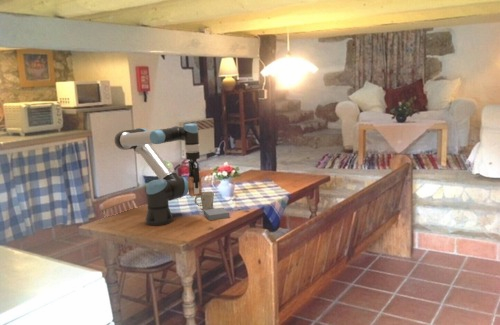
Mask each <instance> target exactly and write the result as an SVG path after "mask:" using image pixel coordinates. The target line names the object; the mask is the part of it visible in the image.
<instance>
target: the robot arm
mask: <svg viewBox="0 0 500 325" xmlns="http://www.w3.org/2000/svg"><path fill="white" fill-rule="evenodd" d="M199 136H200V135H199V124H197V123H194V122H193V123H185V124H184V125H183V126H178V125H177V126H171V127H168V128H161V129H155V130H154V129H152V130H148V129H146V128H144V127H143V128H142V127H141V128H140V127H139V128H134V129H128V130H126V129H125V130H122V131H119V132H118V133H116V135H115V136H114V145H115V146H116V147H117V149H120V150H123V151H127V150H128V151H129V150H133V151H134V152H135V153H136V154H138V155H139V154H140V156H141V157H142V158H143V160H144V161H145V162H146V164H148V166H149V167H150V169H151V171H153V173H154V174H155V176H156V177H157V179H154V180H151V181H149V182H148V183H147V184H146V187H145V188H146V189H145V192H146V202H147V212H146V216H145V224H146V225H148V226H164V225H169V224H170V223H173V221H174V219H173V218H174V216H173V214H172V211H171V209H170V207H169V201H174V200H177V199H180V198H183V197H185V196H186V195H188V194H189V187H188V178H186V177H184V176H179V175H178V173H177V172H174V171H172V170H171V168H170V167H169V165H167V163H166V162H165V160H164V159H163V158H162V157H161V156H160V154H159V153H158V151H157V150H156V149H155V148H154V147H153V145H161V144H166V143H171V142H177V141H184V146H185V147H184V148H185V152H186V153H185V159H187V160H188V162H187V163H188V173H189V176H188V177H193V178H194V182H193V183H194V194H199V182H200V180H199V177H200V172H199V171H200V169H199V167H200V165H199V163H198V162H197V160H199V159H201V155H200V154H201V153H200V147H201V145H200V140H199V139H200V137H199Z"/></svg>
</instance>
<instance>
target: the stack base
mask: <svg viewBox="0 0 500 325" xmlns="http://www.w3.org/2000/svg"><path fill="white" fill-rule="evenodd" d="M230 214H231V213H230V211H229V210H227V208H225V207H217V208H216V207H215V208H213V209H209V210H203V216H204V217H205V218H206V219H207V220H208V221H215V220H222V219H228V218H230Z"/></svg>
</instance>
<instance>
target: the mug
mask: <svg viewBox="0 0 500 325" xmlns="http://www.w3.org/2000/svg"><path fill="white" fill-rule="evenodd" d="M214 194H215V193H214V191H202V195H201V196H194V203H195V205H196V206H198V207H202V210H203V211H204V210H209V209H214V197H215V196H214ZM199 198H200V200H201V201H200V202H201V204H199V203H198V202H197V201H198V199H199Z"/></svg>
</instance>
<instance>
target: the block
mask: <svg viewBox="0 0 500 325" xmlns="http://www.w3.org/2000/svg"><path fill="white" fill-rule="evenodd" d="M199 180H200V182H199V194H194V183H193V182H194V178H193V177H189V176H188V177H187V181H188V187H189V190H188V195H189V196H190V197H196V196H201V195H202V192H203V191H202V177H200V176H199Z"/></svg>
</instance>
